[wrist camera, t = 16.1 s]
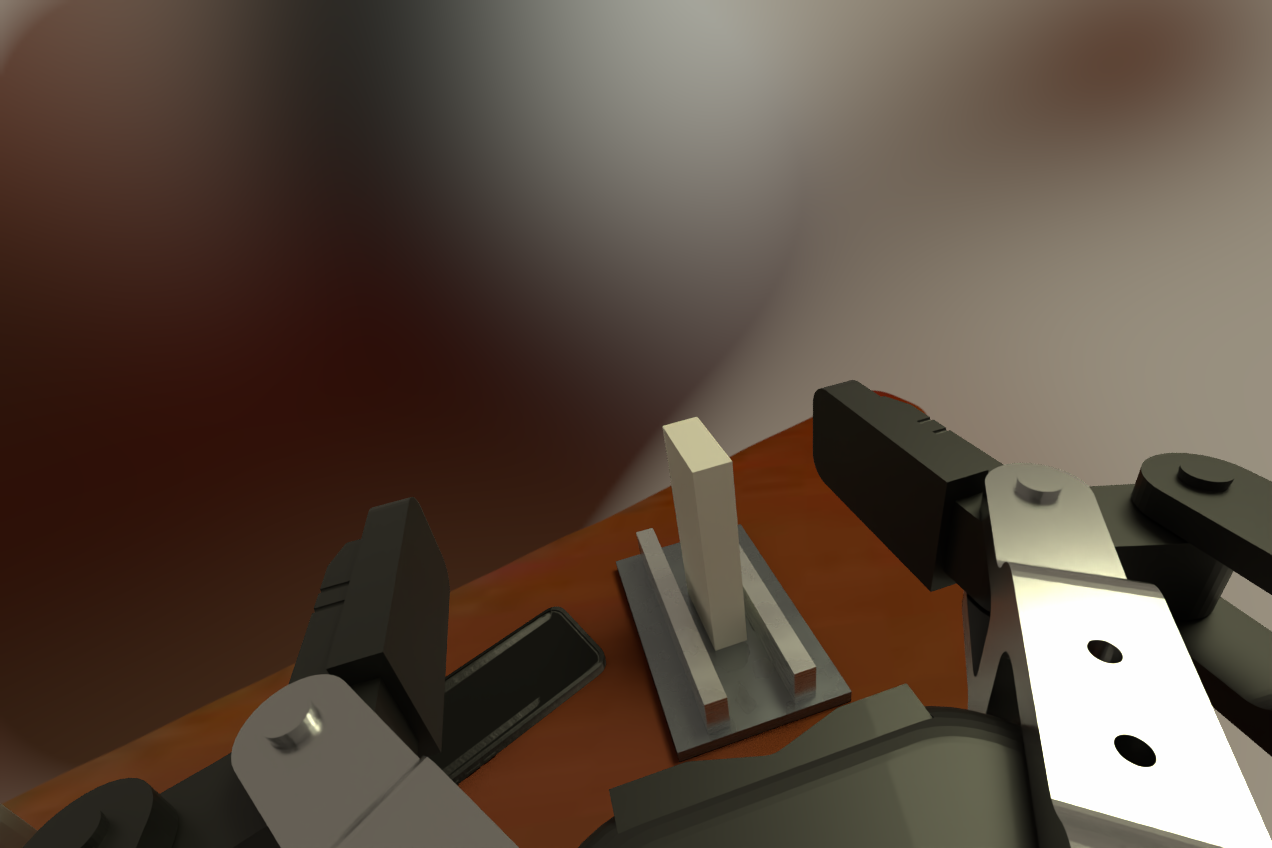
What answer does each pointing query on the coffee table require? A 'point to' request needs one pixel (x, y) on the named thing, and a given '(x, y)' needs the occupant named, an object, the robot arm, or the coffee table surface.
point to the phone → (513, 689)
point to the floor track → (725, 652)
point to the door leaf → (707, 529)
